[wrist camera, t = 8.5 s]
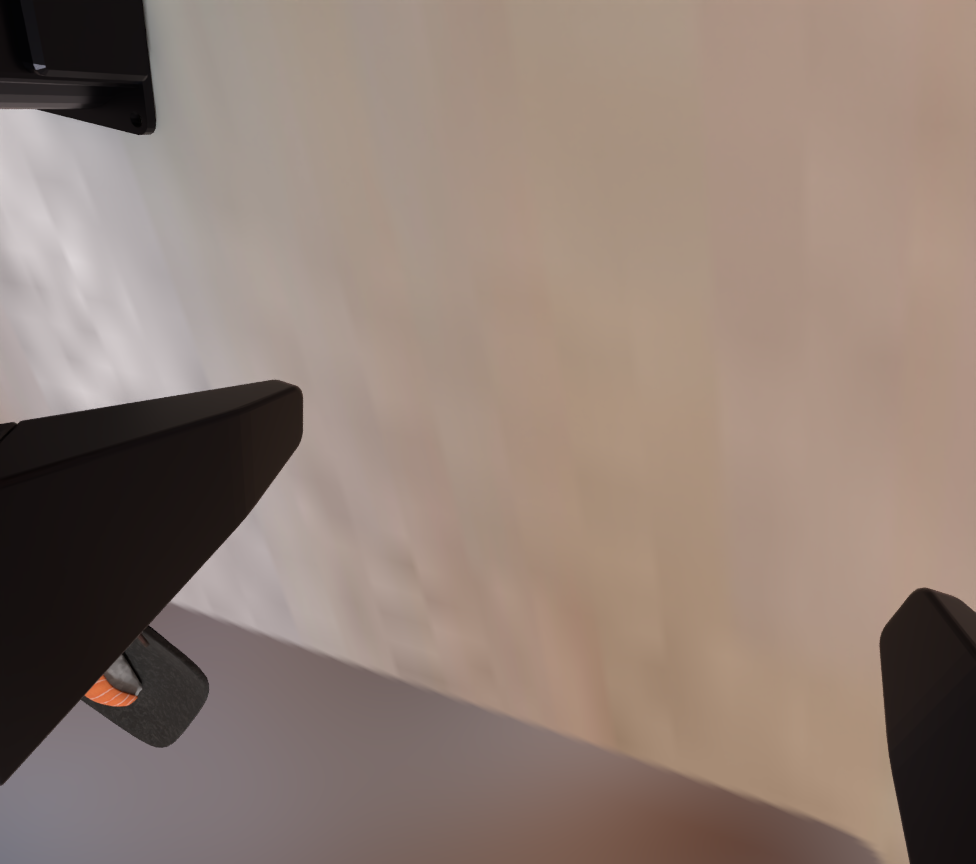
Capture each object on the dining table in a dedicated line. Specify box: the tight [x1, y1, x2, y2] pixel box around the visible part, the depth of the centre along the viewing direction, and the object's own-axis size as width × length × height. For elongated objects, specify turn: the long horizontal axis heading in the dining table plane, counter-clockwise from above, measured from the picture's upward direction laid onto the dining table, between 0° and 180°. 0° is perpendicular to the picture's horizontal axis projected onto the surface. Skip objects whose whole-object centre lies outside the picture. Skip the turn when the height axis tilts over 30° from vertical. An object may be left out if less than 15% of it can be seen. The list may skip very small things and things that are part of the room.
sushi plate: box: [81, 625, 209, 748], centre depth 36 cm, size 29×30×4 cm
